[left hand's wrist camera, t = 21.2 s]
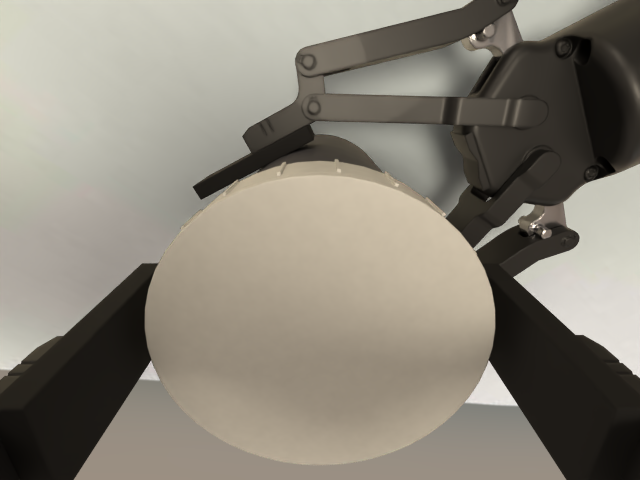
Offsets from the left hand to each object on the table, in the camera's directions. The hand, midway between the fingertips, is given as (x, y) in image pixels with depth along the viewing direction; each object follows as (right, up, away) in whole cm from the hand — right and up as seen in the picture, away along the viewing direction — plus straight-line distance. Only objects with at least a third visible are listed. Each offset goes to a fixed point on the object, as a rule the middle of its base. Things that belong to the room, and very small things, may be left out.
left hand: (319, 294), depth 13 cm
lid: (0, -1, -3) cm, 3 cm away
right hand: (-4, +1, +7) cm, 8 cm away
